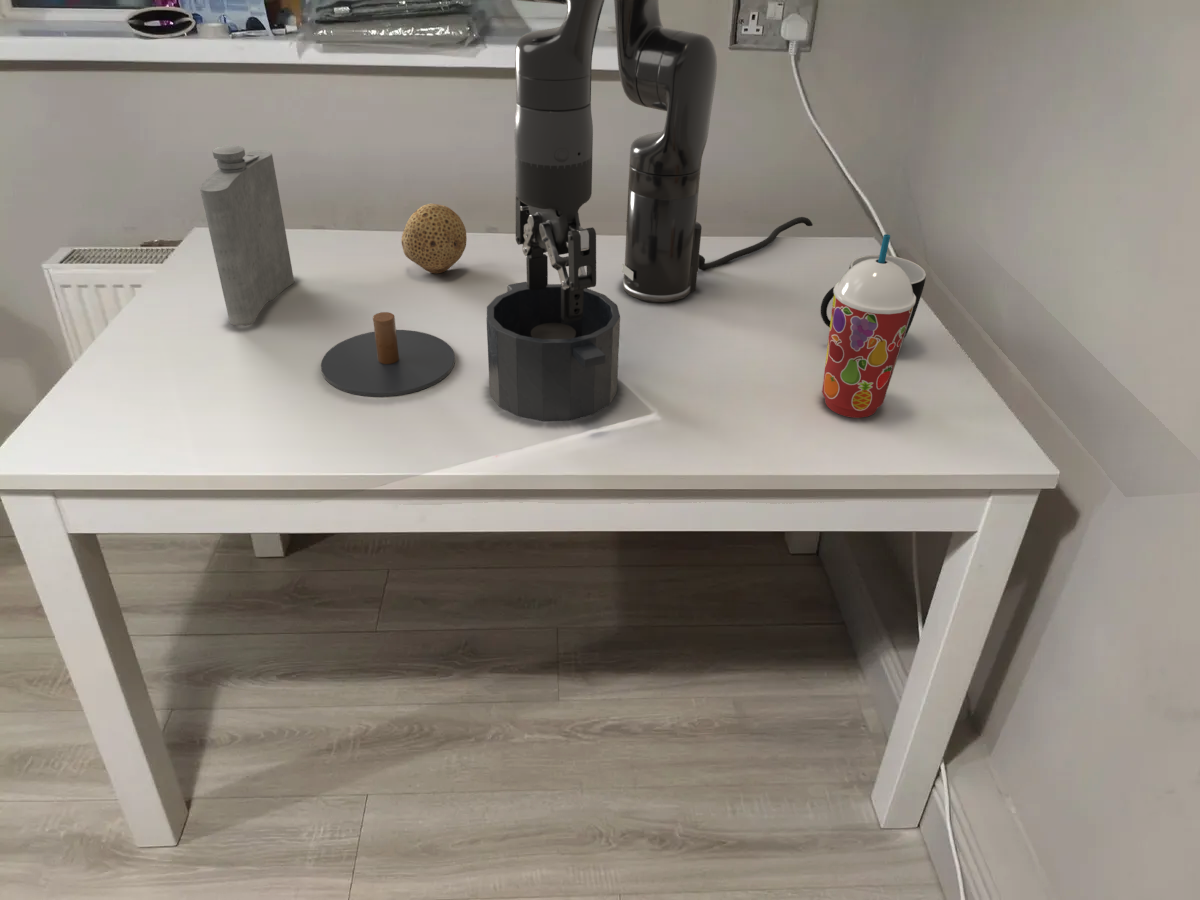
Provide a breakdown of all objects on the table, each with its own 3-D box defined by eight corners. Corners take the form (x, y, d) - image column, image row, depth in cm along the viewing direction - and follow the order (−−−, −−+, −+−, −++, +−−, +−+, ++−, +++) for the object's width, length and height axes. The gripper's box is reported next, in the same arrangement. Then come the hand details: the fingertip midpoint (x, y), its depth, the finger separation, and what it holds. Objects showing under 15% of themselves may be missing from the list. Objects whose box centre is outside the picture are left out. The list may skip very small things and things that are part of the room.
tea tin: (563, 373, 106) (564, 319, 102) (583, 393, 103) (584, 338, 99) (524, 382, 104) (523, 327, 100) (542, 403, 101) (542, 347, 97)
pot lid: (430, 328, 116) (425, 279, 112) (474, 383, 105) (471, 331, 101) (308, 352, 109) (299, 302, 106) (342, 413, 98) (333, 359, 95)
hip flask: (250, 330, 114) (217, 170, 102) (219, 328, 114) (182, 167, 103) (297, 278, 127) (272, 131, 115) (269, 276, 127) (241, 129, 116)
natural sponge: (472, 285, 127) (468, 215, 121) (407, 290, 125) (400, 219, 119) (465, 260, 134) (461, 193, 128) (403, 264, 132) (396, 196, 126)
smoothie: (891, 394, 105) (932, 227, 94) (885, 431, 99) (928, 256, 87) (818, 381, 107) (849, 216, 96) (808, 416, 101) (840, 243, 90)
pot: (570, 342, 114) (571, 267, 108) (650, 419, 99) (656, 337, 94) (463, 365, 108) (458, 287, 102) (531, 450, 94) (530, 365, 88)
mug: (891, 326, 120) (908, 253, 114) (919, 359, 112) (939, 283, 107) (803, 329, 118) (815, 256, 113) (826, 363, 111) (841, 286, 105)
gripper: (623, 166, 85) (617, 324, 94) (556, 127, 95) (556, 272, 104) (550, 177, 82) (551, 339, 91) (489, 135, 92) (495, 284, 101)
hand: (554, 303), depth 98 cm, fingers open, 8 cm apart
